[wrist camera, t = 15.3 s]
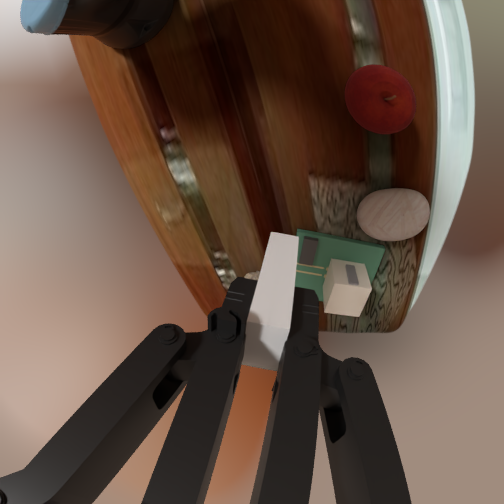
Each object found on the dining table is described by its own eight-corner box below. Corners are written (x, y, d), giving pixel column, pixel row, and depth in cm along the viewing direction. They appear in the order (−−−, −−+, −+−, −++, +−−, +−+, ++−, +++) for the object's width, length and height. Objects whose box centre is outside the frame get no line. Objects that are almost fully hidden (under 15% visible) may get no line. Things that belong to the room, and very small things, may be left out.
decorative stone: (353, 231, 45) (357, 246, 41) (355, 181, 40) (361, 192, 36) (419, 232, 42) (428, 247, 38) (426, 185, 38) (438, 195, 33)
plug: (322, 286, 50) (324, 312, 44) (331, 256, 46) (335, 281, 41) (354, 291, 50) (359, 316, 44) (365, 262, 46) (372, 286, 40)
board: (284, 290, 54) (282, 305, 51) (297, 228, 46) (296, 240, 43) (360, 303, 52) (362, 317, 49) (383, 245, 45) (389, 258, 41)
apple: (370, 141, 36) (388, 154, 28) (325, 96, 34) (332, 94, 26) (410, 103, 31) (438, 107, 23) (366, 57, 29) (384, 46, 21)
